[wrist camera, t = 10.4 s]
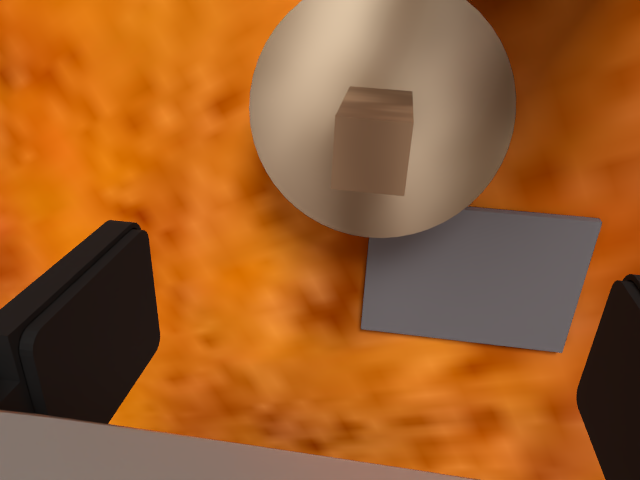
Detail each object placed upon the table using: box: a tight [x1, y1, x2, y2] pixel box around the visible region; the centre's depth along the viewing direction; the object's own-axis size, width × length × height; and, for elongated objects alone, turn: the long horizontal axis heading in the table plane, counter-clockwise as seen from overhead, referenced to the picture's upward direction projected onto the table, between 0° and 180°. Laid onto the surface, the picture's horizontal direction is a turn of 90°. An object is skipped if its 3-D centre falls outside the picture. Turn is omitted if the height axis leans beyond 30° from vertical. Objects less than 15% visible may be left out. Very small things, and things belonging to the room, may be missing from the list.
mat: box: [361, 206, 602, 353], centre depth 36 cm, size 14×10×1 cm
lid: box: [249, 0, 516, 238], centre depth 24 cm, size 13×13×7 cm
